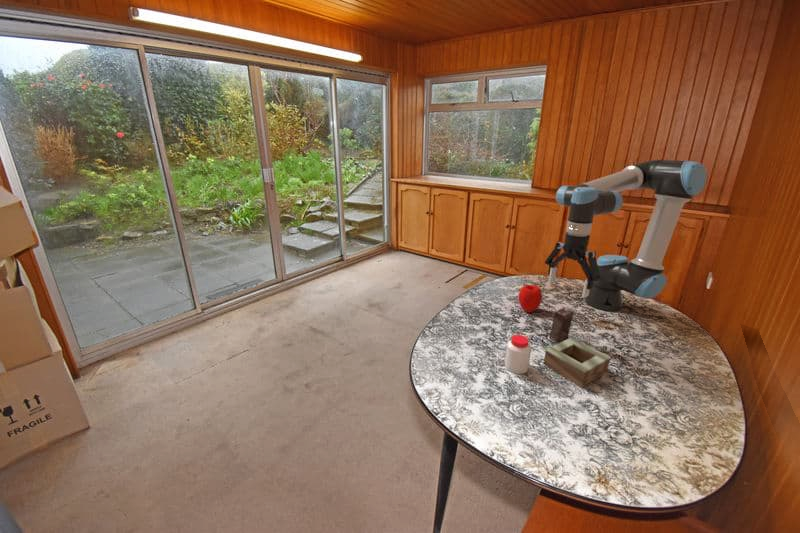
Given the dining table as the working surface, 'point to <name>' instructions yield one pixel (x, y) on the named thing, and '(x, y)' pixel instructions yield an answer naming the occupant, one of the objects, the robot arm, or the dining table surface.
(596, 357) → the socket block
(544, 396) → the dining table surface
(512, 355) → the pill bottle
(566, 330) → the box
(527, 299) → the apple
